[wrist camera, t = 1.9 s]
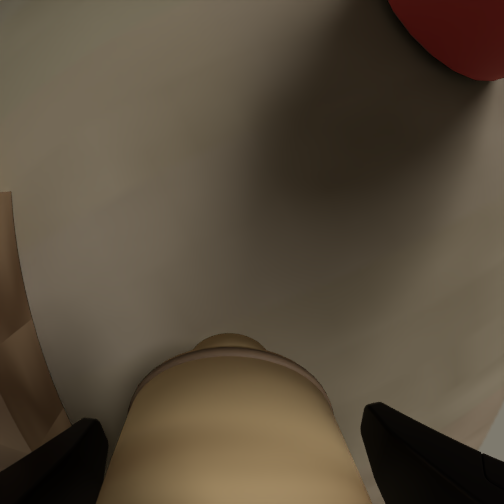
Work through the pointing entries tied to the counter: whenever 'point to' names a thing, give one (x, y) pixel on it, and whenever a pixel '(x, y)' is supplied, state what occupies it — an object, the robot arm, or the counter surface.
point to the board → (21, 361)
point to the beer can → (458, 33)
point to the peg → (231, 434)
